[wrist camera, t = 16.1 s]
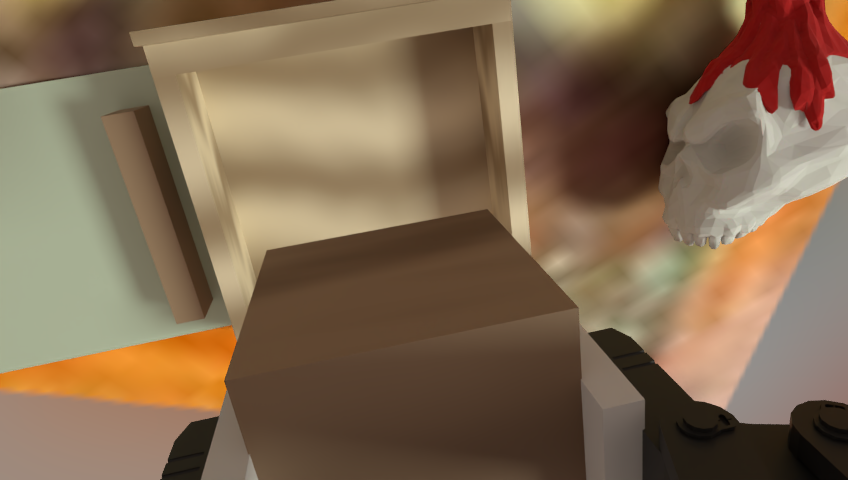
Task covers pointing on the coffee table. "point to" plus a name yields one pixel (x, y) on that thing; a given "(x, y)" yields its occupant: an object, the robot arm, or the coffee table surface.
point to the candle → (758, 125)
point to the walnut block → (410, 359)
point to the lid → (96, 223)
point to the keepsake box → (340, 123)
